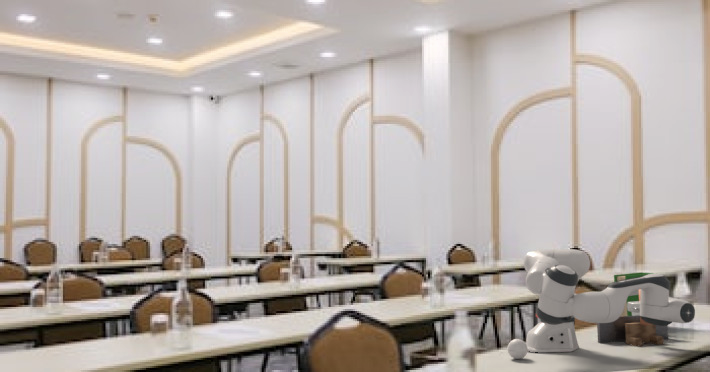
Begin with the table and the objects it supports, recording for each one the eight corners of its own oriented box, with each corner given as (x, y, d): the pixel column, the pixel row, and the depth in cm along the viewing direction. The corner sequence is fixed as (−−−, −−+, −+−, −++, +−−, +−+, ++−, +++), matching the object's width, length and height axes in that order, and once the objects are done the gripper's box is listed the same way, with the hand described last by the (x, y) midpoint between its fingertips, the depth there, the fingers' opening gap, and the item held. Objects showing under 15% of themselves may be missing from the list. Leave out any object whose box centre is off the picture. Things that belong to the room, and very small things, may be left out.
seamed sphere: (525, 356, 273) (524, 336, 274) (530, 360, 266) (529, 340, 266) (498, 357, 273) (497, 338, 273) (503, 361, 266) (502, 341, 266)
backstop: (600, 343, 295) (599, 318, 295) (597, 342, 297) (596, 317, 297) (668, 338, 300) (667, 314, 300) (665, 337, 302) (664, 313, 302)
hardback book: (629, 329, 326) (626, 275, 327) (616, 327, 332) (613, 275, 333) (656, 325, 334) (653, 273, 335) (643, 323, 340) (640, 272, 341)
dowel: (643, 325, 286) (641, 289, 287) (638, 323, 290) (636, 288, 291) (653, 324, 287) (651, 289, 288) (647, 323, 291) (645, 288, 292)
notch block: (635, 346, 286) (634, 325, 286) (626, 343, 292) (625, 323, 293) (663, 344, 287) (662, 324, 288) (653, 341, 294) (652, 321, 295)
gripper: (638, 317, 275) (619, 313, 288) (687, 314, 278) (667, 310, 291) (637, 300, 275) (618, 297, 289) (686, 297, 278) (666, 294, 292)
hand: (643, 303), depth 290 cm, fingers closed on dowel, 4 cm apart
